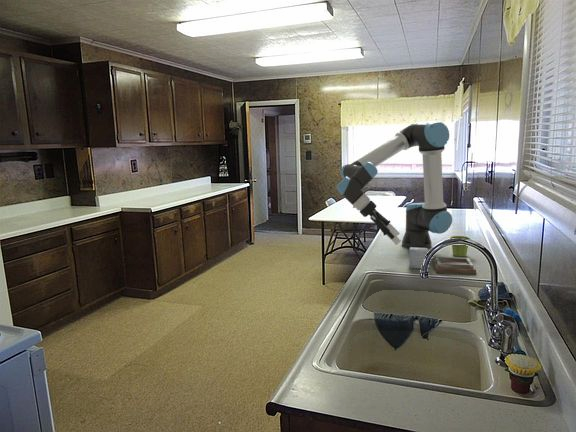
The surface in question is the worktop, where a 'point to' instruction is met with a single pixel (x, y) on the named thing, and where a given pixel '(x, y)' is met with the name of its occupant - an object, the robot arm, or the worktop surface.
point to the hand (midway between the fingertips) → (398, 238)
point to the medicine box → (417, 257)
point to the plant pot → (459, 247)
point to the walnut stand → (453, 265)
